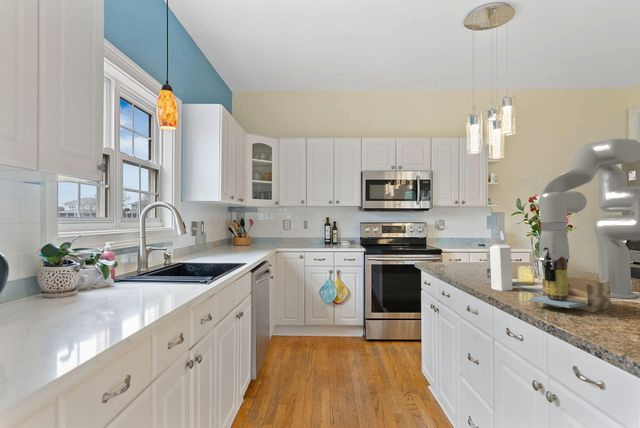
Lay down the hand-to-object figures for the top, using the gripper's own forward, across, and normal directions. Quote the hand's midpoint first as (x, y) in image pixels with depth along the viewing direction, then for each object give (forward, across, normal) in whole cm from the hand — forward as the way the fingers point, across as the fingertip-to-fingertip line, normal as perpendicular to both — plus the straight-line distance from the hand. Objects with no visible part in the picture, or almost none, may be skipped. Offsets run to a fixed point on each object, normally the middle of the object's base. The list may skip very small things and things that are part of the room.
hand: (556, 279), depth 117 cm
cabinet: (+10, -11, 0) cm, 15 cm away
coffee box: (+11, -25, -40) cm, 49 cm away
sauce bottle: (+7, 0, 0) cm, 7 cm away
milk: (+11, -14, -31) cm, 36 cm away
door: (+9, 0, 0) cm, 9 cm away
